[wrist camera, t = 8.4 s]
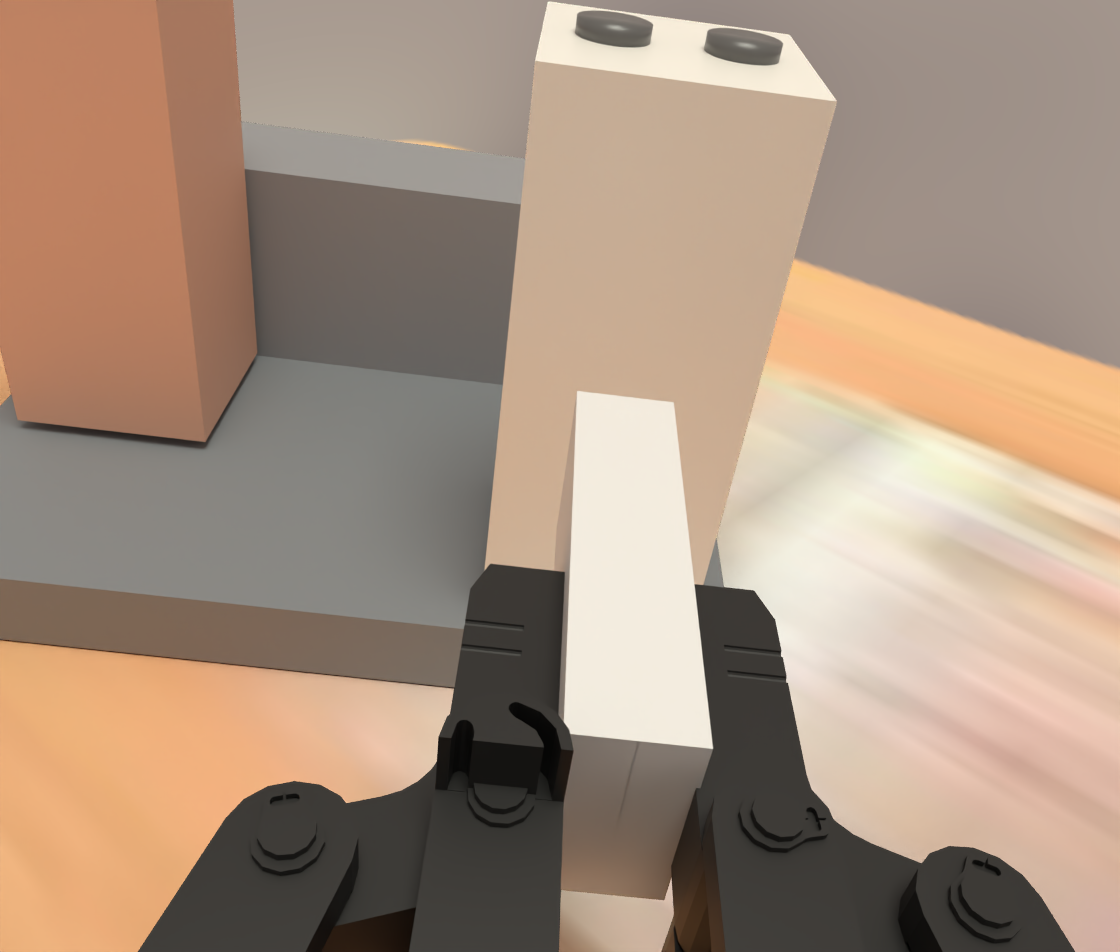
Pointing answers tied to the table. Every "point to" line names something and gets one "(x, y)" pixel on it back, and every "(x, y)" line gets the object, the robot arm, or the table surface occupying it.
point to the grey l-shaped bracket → (300, 438)
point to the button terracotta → (123, 214)
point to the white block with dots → (650, 249)
